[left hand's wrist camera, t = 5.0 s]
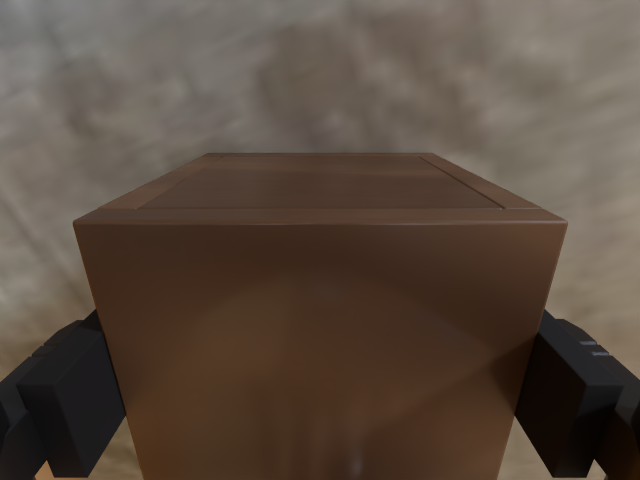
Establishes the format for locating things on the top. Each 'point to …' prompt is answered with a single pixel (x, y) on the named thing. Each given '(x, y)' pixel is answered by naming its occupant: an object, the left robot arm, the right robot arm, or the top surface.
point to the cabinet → (320, 315)
